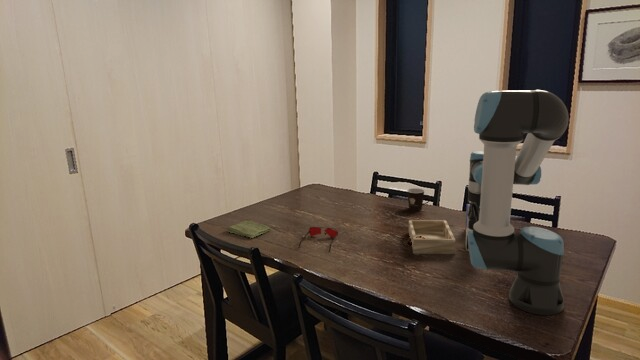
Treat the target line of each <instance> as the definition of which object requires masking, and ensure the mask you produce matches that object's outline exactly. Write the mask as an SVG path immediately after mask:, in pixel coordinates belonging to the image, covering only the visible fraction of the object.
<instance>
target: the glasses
mask: <svg viewBox="0 0 640 360" xmlns="http://www.w3.org/2000/svg"><path fill="white" fill-rule="evenodd" d="M322 229H323V226H322V227H320V226H310V227H309V228H308V232H307V233H306V234H305V235H304V236H303V238H302V239H301V240H300V241H299V245H298V247H297V249H298V248H299V249H300V248H301V245H302V242H304V239H305V238H307V236H308V234H309V235H310V236H311V237H313V236H316V235H317V236H318V235H321V234H322ZM323 231H324V235H325V236H327V235H328V236H329V237H330V238H331V237H332V241H331V242H330V244H329V249H328V253H329V252H330V253H331V248H332V244H333V242H334V240H335V239H336V238H337V236H339V233H340V232H339V231H338V230H337V229H336V228H333V227H326V228H325V229H324V230H323Z"/></svg>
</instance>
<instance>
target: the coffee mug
mask: <svg viewBox="0 0 640 360" xmlns="http://www.w3.org/2000/svg"><path fill="white" fill-rule="evenodd" d="M406 192H407V201H408V202H407V203H408V210H410V211H411V212H420V211H421V212H422V210H423V206H424V205H426V204H428V203H429V202H430V201H431V196H430V195H428V194H425V189H423V188H418V187H417V188H416V187H415V188H409V189H407V191H406ZM425 197H427V198H429V199H428V201H426V202H425V203H424V198H425Z"/></svg>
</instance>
